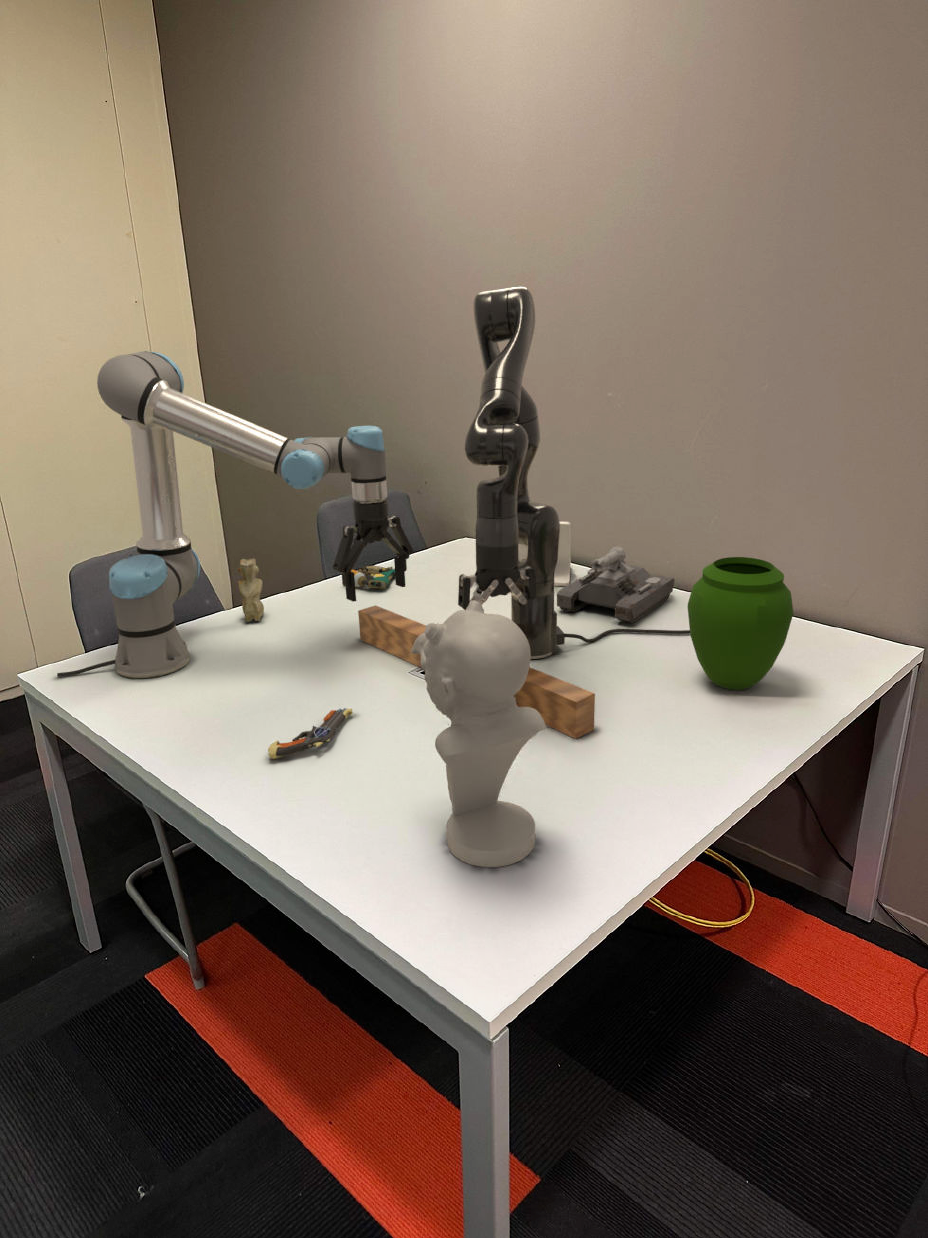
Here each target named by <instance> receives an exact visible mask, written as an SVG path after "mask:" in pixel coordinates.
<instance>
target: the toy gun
mask: <svg viewBox="0 0 928 1238" xmlns="http://www.w3.org/2000/svg"><path fill="white" fill-rule="evenodd" d="M353 713H354V712H353V708H346V707H344V708H343V709H342V708H339V709H332V710H330V711H329V712H328V713H327V714H326V715H325V716H324V718H323V723H322V724H321V725H319V726H316V725H312V729H310V730H305V731H301V732H300V733H299V734H298V735H297V736H296V737H294V738H292V741H288V742H280V741H279V740H275V741H274V742H273V743H271V744H270V745H269V746H268V749H267V751H268V756H269V759H271V760H274V759H278V758H283V757H285V756H290V755H293V754H297V753H300V752H304V751H307V750H309V749H312V748H319V747H321V746H323V745H324V744H325V743H328V742H329V741H331V739H332V738H333V737H334V736H335V734H336V732H337V730H338V728H339V727H341V725H342V723H343V722H344V721H345V720H346V719H347V718H348V717H349V716H352V715H353Z"/></svg>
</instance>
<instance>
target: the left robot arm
mask: <svg viewBox="0 0 928 1238" xmlns="http://www.w3.org/2000/svg"><path fill="white" fill-rule="evenodd" d="M96 380H97V381H96V383H97V390H98V394H99V396H100V398H101V399H102V401H103V403H104V404H105V405H106V406H107V407H108V408H109V409H110V410H112V411H113V412H115V413H116V414H118V415H120V416H121V417H120V418H121V420H122V421H123V422H124V423H125V424H126V425H127V426H128V427H129V428H130V436H131V444H132V447H131V448H132V454H133V462H134V471H135V481H136V490H137V497H138V506H139V515H140V525H141V532H142V535H141V537H140V538H139V539H138V540H137V541H136V554H135V555H133V556H129V557H127V558H122V559H120V560H118V561H117V562H115V563H114V564H113V565H112V566H111V567H110V569H109V571H108V578H109V581H108V587H109V592H110V595H111V600H112V604H113V610H114V616H115V619H116V620H115V621H116V625H117V631H118V643H117V648H116V653H115V659H112V660H108V661H107V660H106V661H104V662H101V663H97V664H93V665H90V666H86V667H84V668H81V669H76V670H70V671H62V672H57V673H56V676H57V678H62V677H69V676H74V675H75V676H76V675H81V674H84V673H87V672H90V671H93V670H96V669H100V668H104V667H107V666H108V667H109V666H111V665H114V666H115V670H116V673H117V674H118V675H120V676H122V677H125V678H129V679H149V678H157V677H161V676H165V675H169V674H172V673H175V672H177V671H179V670H181V669H182V668H184V667H185V666H187V665H188V664H189V662H190V653H189V649H188V646H187V643H186V642H185V641H184V640H183V638H182V636H181V634H180V632H179V630H178V629H177V625H176V620H175V619H176V618H175V613H174V607H173V605H174V604H175V603H176V602H177V601H178V600H179V599H181V598H182V597H183V596H184V595H187V593H189V592H190V591H191V590H192V589H193V588H194V587H195V584H196V583H197V582H198V580H199V578H200V575H201V562H200V559H199V556H198V554H197V553H196V551H194V550H193V549H192V548H193V547H192V541H191V540H192V539H191V538H190V537H188V535H186V534H185V533H184V530H183V520H182V509H181V497H180V489H179V478H178V469H177V458H176V457H177V456H176V449H175V437H174V433H176V434H178V435H181V436H184V437H185V438H189V439H191V440H194V441H196V442H198V443H200V444H203V445H205V446H208V447H210V448H212V449H215V450H217V451H219V452H222V453H225V454H226V455H229V456H231V457H234V458H236V459H239V460H241V461H243V462H246V463H248V464H250V465H253V466H255V467H258V468H260V469H262V470H265V471H267V472H270V473H272V474H274V475H277V476H279V477H282V479H283V481H285V483H286V484H287V485H288V486H289V487H291V488H294V489H296V490H306V489H309V488H312V487H314V486H316V485H317V484H319V483H320V482H321V480H322V479H323V478H324V477H325V476H327V475H328V474H347V473H348V474H350V482H351V493H352V499H353V500H354V501H353V502H352V508H353V509H352V510H353V511H352V512H353V518H354V520H355V524H354V525H353V526H348V525H343V526H342V537H341V540H340V543H339V547H338V549H337V553H336V556H335V558H334V562H333V566H332V570H333V571H335V572H338V573H341V581H342V582H341V584H342V586H343V587H345V595H346V596H345V598H346V600H348V601H351V602H353V603H354V602H357V593H356V592H357V591H356V587H355V577H354V572H351V570H352V569H353V568H354V566H355V565H356V563H357V561H358V559H359V557H360V556H361V554H362V552H363V550H364V548H366V547H367V546H368V544H373V543H375V542H381V541H383V542H384V543H385V544H386V545H387V547H388V548H389V549H390V550H391V551H392V552H393V553H394V554H395V555H396V556H395V557H394V558H393V563H394V569H395V577H394V581H395V585H396V586H398V587H401V588H406V572H407V570H408V566H407V560H409V558H410V555H413V553H414V548H413V547H412V545H411V543H410V541H409V539H408V537H407V535H406V532H405V531H404V529H403V527H402V524H401V518H400V517H399V516H395V515H390V516H389V501H388V500H387V498H388V483H387V468H386V446H385V441H384V440H385V439H384V433H383V430H382V429H381V427H379V426H376V425H358V426H352V427H349V428H348V430H347V435H346V436H341V437H336V436H335V437H333V436H332V437H328V436H327V437H323V436H322V437H318V436H317V437H313V436H307V437H299V438H298V437H297V438H295V439H294V440H293V439H290V438H289V437H286V436H284V435H282V434H279V433H277V432H275V431H272V430H270V429H267V428H265V427H262V426H260V425H258V424H256V423H254V422H251V421H248V420H246V419H244V418H242V417H239V416H237V415H235V414H232V413H230V412H227V411H226V410H223V409H221V408H218V407H216V406H213V405H211V404H209V403H207V402H204V401H202V400H199V399H197V398H194V397H192V396H189V395H188V394H185V393H183V392H184V389H185V381H184V380H185V379H184V376H183V374H182V371H181V370H180V368H179V366H178V364H177V363H175V361H174V360H173V359H171V358H170V357H169V356H167V355H165V354H163V353H161V352H156V351H147V350H144V351H138V352H132V353H127V354H121V355H120V354H119V355H116V356H114V357H111V358H109V359H108V360H107V361H106V362H105V363H104V364H103V365H102V366H101V367H100V369H99V371H98V375H97V379H96ZM388 516H389V517H388ZM389 527H390V528H391V531H392V533H393V534H394V536H395V538H396V540H397V541H396V540H395V539H394V538H393V535H391V534H390V533H389V531H388V529H389Z"/></svg>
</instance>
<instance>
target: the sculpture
mask: <svg viewBox="0 0 928 1238" xmlns="http://www.w3.org/2000/svg"><path fill="white" fill-rule="evenodd" d="M239 565H240V566H239V567H238V568H237V572H238V574H240V575H241V576H242V579H240V580H238V582H237V585H238V591H239V596H241V597H242V603H241V608H242V612H243V614H244V619H245V622H246V623H247V622H252V621H253V620H254V622H258V621H260V620H261V617H262V616H263V615H264V613H265V606H264V604H263V601H261V593H262V590H263V580H262V579H260V578H257V577H256V576H257V575H258V574H259V572H260V568H259V566H257V563H256V558H250V559H245V558H241V559H240V561H239Z"/></svg>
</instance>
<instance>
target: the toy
mask: <svg viewBox="0 0 928 1238" xmlns="http://www.w3.org/2000/svg"><path fill="white" fill-rule="evenodd" d="M626 557H627V556H626V551H625V549H624V548H622V547H621V546H614V547H612V548H611V549H610V550H609V552H608V553H607V554H605V555H604V556H601V557H599V558H598V559H597V557H596V558H594V559H593V560H592V561H590V562H589V563H590V564H591V565H592V567H591V568H590V569H589V570H587V573H586V575H584V576H582V577H580V578H578V579H577V580H575V581H573V582H570V583H569V585H567V586H563V587H562V588H560V589H559V590H558V591H557V592H556V607H558V608H559V609H560V610H562V611H566V612H572V613H575V612H577V611H579V610H581V609H582V608H585V607H586V606H588V605H592V606H598V607H602V608H603V607H604V608H609V609H613V610H614V618H615V619H617V620H618V621H621V622H626V623H631V624H634V623H635V622H637V621H638V620H640V619H641V618H642V617H644V616H645V615H647V614H648V613H650V612H651V611H652V610H654V609H655V608H657V607H659V606H660V605H661V604H663V603H664V602H666V601H667V600H669V598H670V596H671V594H672V593H673V591H674V585H675V580H676V579H675V578H673V577H668V576H663V575H656V576H655V577H654V576H651V574H650V573H649V572H648V571H647V570H646V568H644V567H641V566H635V565H629V564H628V563H627V562H626V561H625V559H626Z"/></svg>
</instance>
